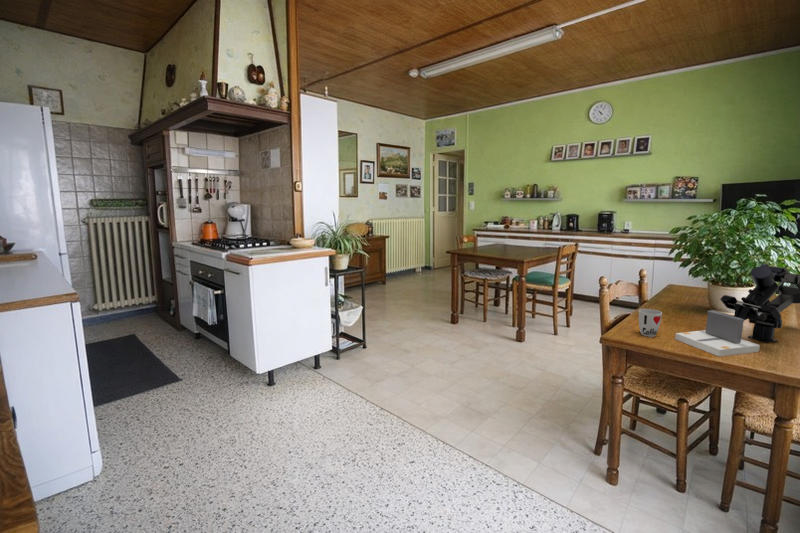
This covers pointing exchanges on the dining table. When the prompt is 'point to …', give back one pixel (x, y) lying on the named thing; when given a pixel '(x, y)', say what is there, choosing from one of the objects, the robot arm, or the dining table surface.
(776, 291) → the robot arm
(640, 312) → the cup
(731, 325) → the slider tab
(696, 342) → the switch board
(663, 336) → the dining table surface
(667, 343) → the dining table surface
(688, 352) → the dining table surface
